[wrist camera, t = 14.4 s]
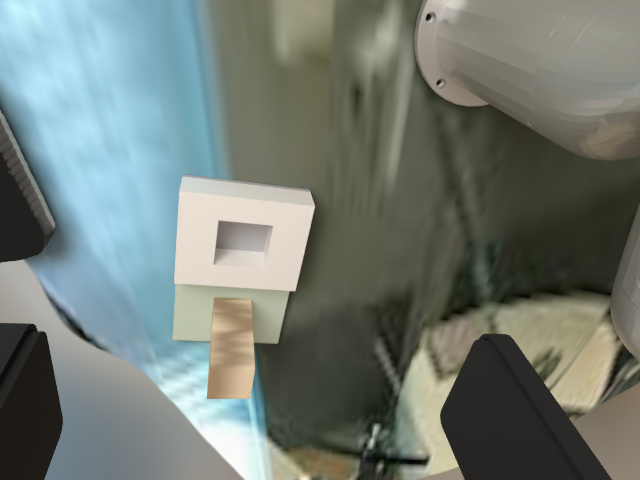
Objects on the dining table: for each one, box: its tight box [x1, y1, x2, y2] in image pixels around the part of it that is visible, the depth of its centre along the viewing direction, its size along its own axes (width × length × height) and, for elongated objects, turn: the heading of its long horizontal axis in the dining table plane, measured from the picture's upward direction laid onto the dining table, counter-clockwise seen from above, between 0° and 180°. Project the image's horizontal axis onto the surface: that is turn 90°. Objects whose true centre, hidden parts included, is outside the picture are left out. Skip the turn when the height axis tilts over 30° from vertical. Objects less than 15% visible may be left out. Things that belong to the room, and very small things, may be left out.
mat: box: [173, 283, 289, 344], centre depth 50 cm, size 12×9×1 cm
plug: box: [207, 297, 255, 399], centre depth 46 cm, size 4×4×10 cm
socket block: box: [174, 174, 315, 291], centre depth 44 cm, size 12×10×4 cm
